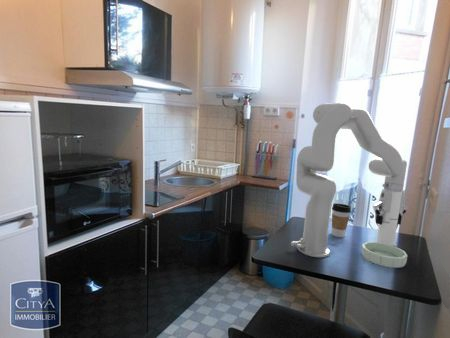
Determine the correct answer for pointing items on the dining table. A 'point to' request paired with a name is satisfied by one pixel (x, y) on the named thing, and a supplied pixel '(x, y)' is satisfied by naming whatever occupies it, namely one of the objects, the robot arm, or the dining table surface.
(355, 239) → the dining table surface
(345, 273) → the dining table surface
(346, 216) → the coffee cup
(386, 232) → the cylindrical container
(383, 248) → the dish
